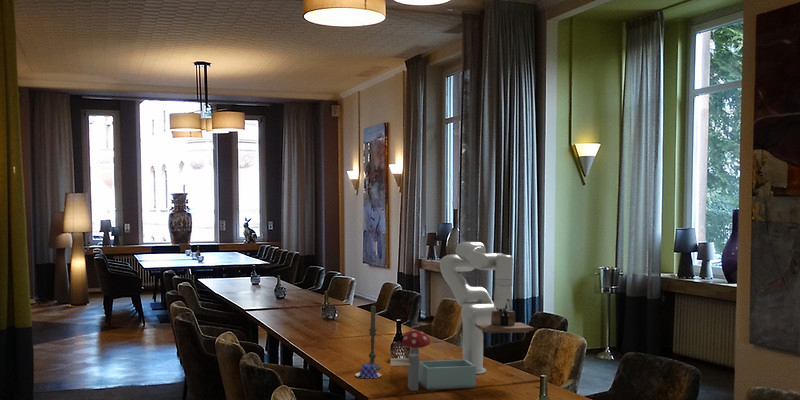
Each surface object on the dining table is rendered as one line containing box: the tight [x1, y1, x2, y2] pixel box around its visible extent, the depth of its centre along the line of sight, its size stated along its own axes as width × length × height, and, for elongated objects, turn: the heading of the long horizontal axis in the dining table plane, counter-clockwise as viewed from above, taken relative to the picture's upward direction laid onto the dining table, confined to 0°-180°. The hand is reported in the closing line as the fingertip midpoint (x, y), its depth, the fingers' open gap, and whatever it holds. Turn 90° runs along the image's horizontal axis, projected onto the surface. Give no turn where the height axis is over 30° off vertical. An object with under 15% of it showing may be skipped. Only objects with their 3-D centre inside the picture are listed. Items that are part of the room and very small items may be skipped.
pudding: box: [354, 363, 383, 379], centre depth 335 cm, size 12×12×5 cm
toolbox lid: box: [475, 310, 535, 334], centre depth 324 cm, size 14×22×8 cm, turn 104°
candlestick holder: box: [366, 304, 383, 371], centre depth 351 cm, size 9×9×30 cm
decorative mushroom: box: [401, 329, 432, 357], centre depth 371 cm, size 16×16×15 cm
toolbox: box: [407, 353, 477, 392], centre depth 320 cm, size 15×29×14 cm, turn 104°
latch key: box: [389, 357, 411, 367], centre depth 311 cm, size 2×12×2 cm, turn 104°
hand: (503, 324), depth 325 cm, fingers closed on toolbox lid, 2 cm apart
